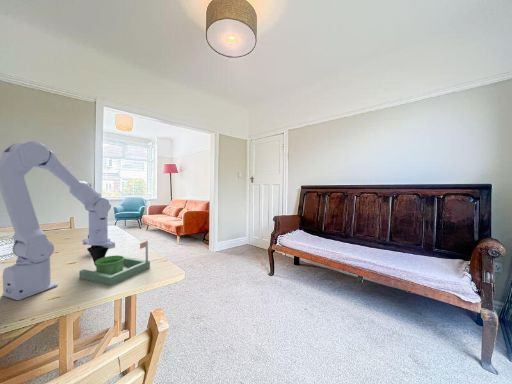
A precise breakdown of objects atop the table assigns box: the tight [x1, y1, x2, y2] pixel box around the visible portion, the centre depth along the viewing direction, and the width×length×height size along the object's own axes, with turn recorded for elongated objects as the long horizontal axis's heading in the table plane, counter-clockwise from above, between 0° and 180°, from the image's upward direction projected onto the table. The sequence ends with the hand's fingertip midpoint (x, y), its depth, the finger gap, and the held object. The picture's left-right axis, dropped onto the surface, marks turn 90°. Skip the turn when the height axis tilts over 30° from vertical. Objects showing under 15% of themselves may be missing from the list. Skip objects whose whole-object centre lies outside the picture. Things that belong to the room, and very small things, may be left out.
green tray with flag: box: [78, 240, 151, 286], centre depth 79 cm, size 16×14×10 cm
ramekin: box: [94, 255, 125, 275], centre depth 80 cm, size 9×9×4 cm
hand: (98, 265), depth 82 cm, fingers closed
